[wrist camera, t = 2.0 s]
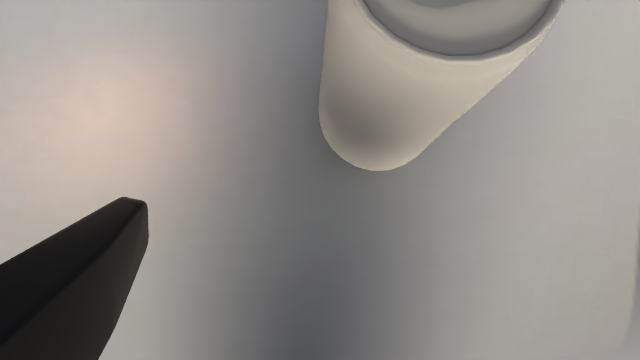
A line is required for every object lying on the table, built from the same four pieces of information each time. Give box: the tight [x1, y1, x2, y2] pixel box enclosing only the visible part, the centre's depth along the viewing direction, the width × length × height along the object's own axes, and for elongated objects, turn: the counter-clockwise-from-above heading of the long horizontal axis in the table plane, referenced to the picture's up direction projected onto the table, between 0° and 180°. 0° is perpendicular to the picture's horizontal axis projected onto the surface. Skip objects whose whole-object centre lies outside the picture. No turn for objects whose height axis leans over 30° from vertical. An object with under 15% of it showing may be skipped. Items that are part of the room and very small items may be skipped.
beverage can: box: [319, 0, 565, 171], centre depth 16 cm, size 5×5×12 cm
